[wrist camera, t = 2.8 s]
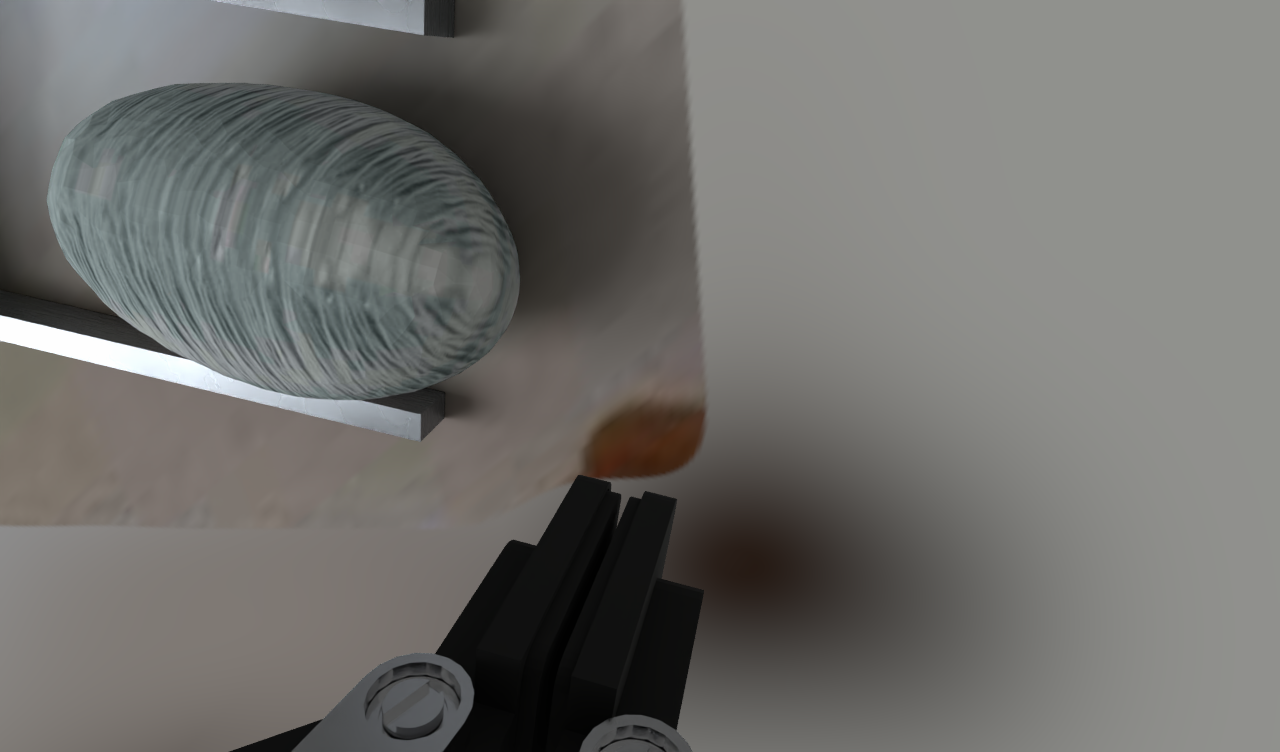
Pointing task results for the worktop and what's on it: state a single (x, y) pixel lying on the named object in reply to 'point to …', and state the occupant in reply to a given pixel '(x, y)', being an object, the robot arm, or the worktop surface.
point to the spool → (286, 238)
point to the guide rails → (386, 3)
